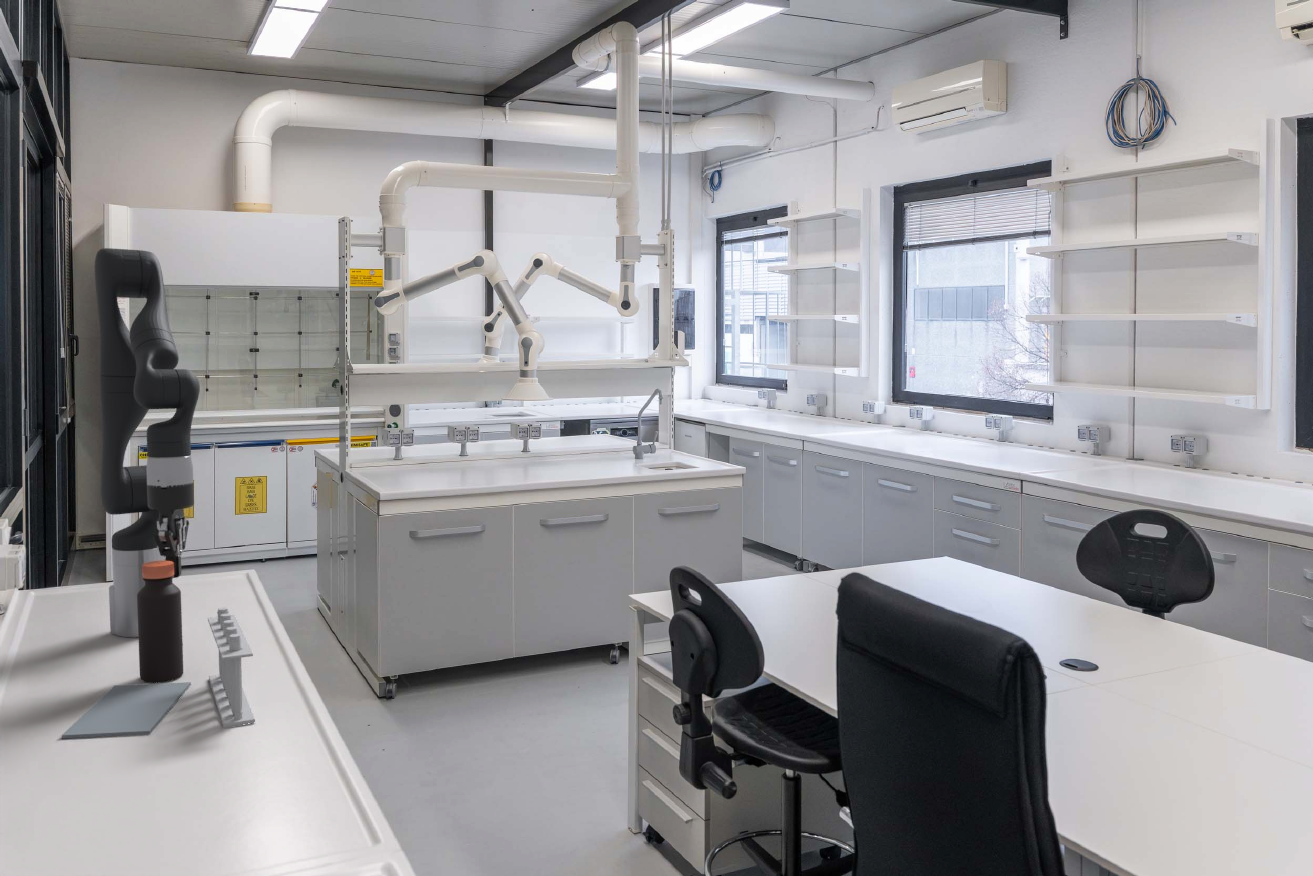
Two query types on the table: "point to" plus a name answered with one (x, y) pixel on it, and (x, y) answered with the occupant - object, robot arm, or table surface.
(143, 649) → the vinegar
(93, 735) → the slate mat
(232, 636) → the test tube rack
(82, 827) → the table surface
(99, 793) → the table surface
